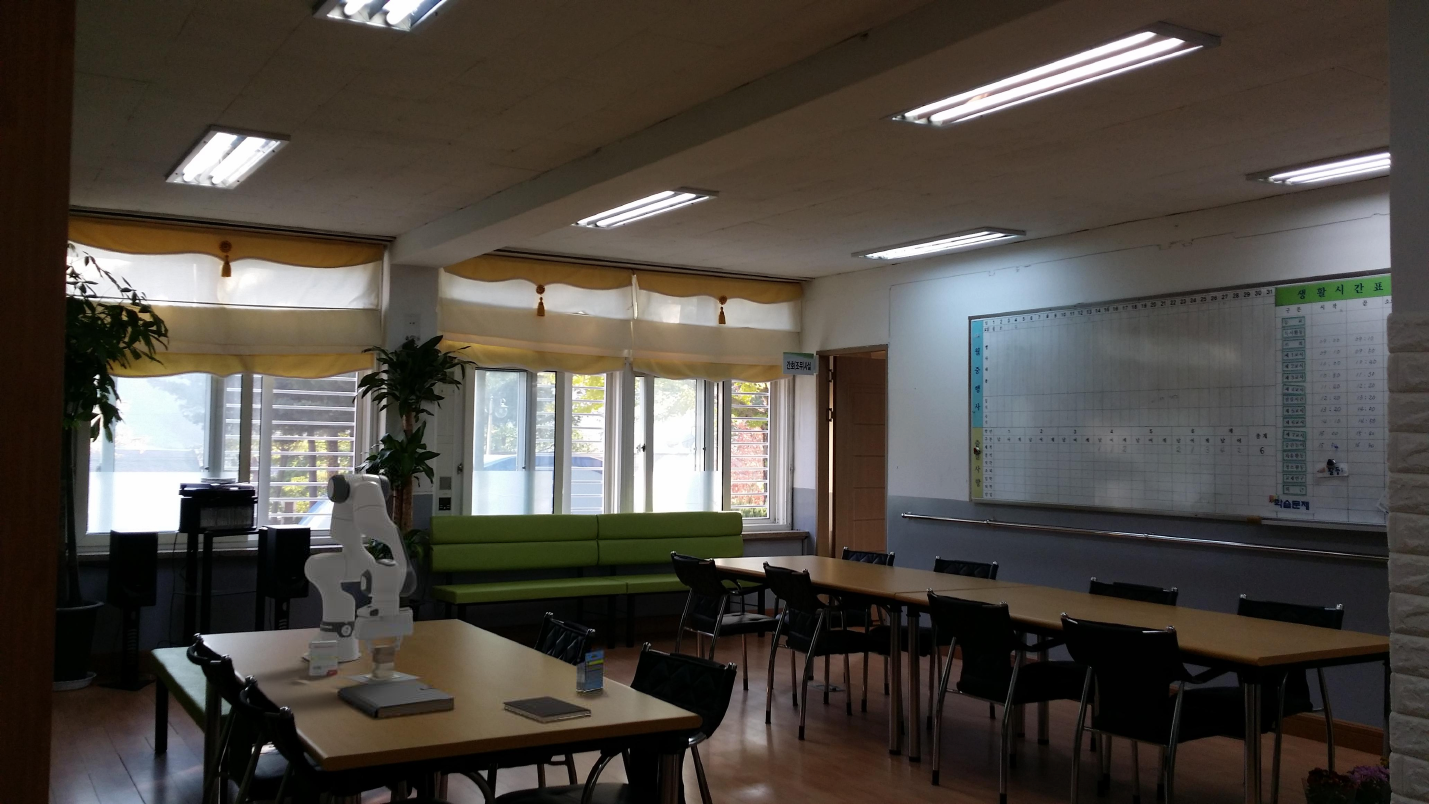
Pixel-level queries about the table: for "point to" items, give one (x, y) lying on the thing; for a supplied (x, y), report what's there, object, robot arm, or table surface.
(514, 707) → the hardcover book
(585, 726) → the table surface
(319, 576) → the robot arm
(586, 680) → the blue grey product box
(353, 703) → the large dark grey book
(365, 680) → the board
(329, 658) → the ink box
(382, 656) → the walnut block
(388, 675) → the birch block
